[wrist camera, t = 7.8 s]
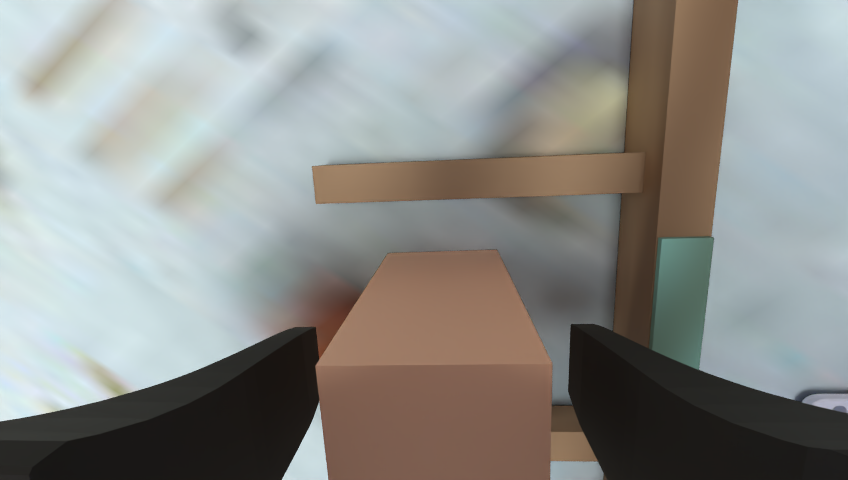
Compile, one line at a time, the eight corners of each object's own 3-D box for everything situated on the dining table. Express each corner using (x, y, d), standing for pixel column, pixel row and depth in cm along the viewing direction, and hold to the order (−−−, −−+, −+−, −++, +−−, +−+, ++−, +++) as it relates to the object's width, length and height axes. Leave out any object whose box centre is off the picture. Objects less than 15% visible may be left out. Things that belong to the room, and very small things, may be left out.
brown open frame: (701, -197, 11) (779, -308, 8) (629, 622, 17) (661, 706, 15) (297, -155, 12) (253, -243, 9) (367, 611, 18) (353, 688, 16)
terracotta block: (496, 249, 14) (552, 364, 6) (497, 350, 15) (547, 560, 7) (387, 252, 15) (315, 366, 7) (394, 351, 15) (337, 554, 8)
